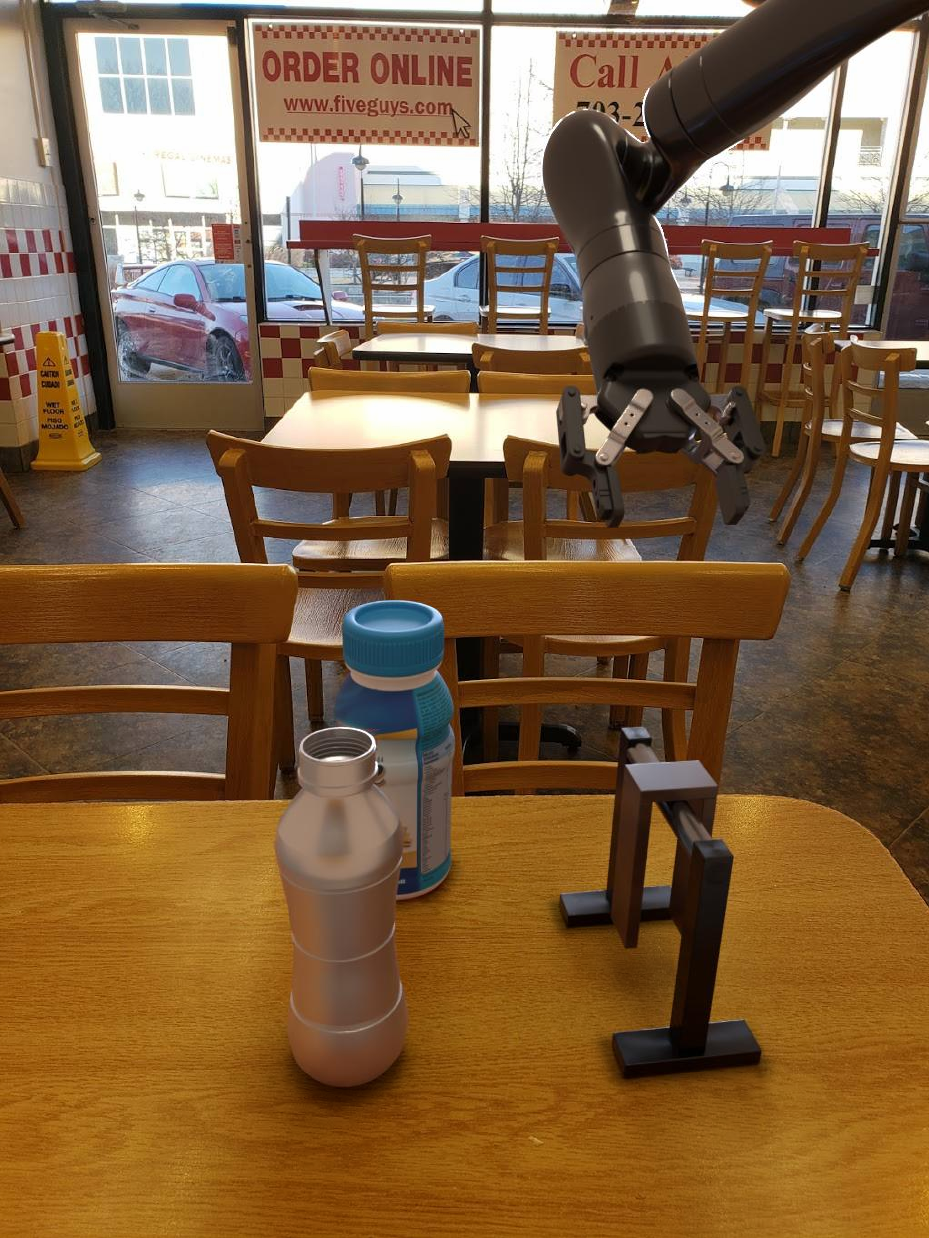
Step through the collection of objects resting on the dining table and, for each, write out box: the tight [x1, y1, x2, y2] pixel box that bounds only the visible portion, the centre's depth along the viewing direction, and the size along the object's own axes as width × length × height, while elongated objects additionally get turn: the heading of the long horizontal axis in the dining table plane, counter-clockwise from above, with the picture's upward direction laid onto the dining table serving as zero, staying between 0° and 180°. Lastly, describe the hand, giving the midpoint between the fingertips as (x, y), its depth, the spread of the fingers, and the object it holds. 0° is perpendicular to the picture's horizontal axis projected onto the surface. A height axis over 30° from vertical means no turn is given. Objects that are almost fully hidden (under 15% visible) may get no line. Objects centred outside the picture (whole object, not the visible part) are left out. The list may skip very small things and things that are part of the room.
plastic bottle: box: [273, 726, 409, 1088], centre depth 49 cm, size 6×7×20 cm
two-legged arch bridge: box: [611, 760, 719, 950], centre depth 56 cm, size 5×3×11 cm, turn 99°
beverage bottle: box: [333, 599, 456, 901], centre depth 66 cm, size 8×8×20 cm
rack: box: [558, 726, 763, 1079], centre depth 57 cm, size 8×15×14 cm, turn 8°
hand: (676, 521), depth 64 cm, fingers open, 8 cm apart
